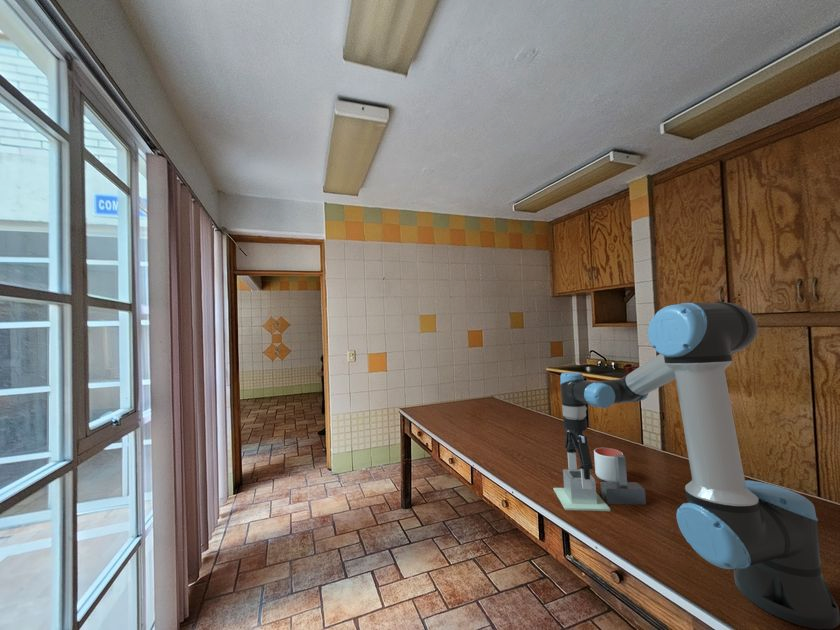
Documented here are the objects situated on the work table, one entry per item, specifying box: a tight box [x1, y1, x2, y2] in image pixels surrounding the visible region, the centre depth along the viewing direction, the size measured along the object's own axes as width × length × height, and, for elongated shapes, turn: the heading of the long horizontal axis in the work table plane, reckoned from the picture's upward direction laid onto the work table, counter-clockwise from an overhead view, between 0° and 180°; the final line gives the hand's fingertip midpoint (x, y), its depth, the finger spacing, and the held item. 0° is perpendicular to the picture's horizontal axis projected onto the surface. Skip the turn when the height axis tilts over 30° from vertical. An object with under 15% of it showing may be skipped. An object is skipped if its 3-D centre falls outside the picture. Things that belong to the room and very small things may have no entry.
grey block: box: [599, 454, 647, 506], centre depth 112 cm, size 5×12×15 cm, turn 83°
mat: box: [553, 487, 611, 512], centre depth 114 cm, size 14×14×1 cm
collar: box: [562, 468, 597, 504], centre depth 114 cm, size 8×8×8 cm
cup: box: [593, 447, 624, 482], centre depth 129 cm, size 10×10×10 cm
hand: (579, 479), depth 113 cm, fingers open, 13 cm apart
